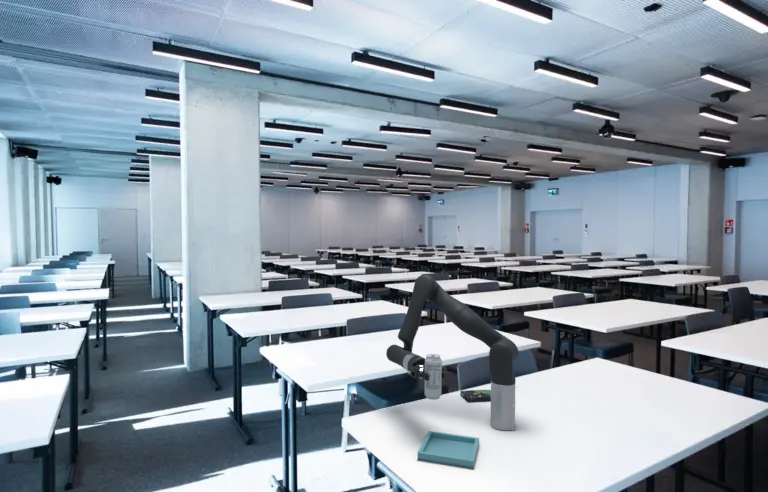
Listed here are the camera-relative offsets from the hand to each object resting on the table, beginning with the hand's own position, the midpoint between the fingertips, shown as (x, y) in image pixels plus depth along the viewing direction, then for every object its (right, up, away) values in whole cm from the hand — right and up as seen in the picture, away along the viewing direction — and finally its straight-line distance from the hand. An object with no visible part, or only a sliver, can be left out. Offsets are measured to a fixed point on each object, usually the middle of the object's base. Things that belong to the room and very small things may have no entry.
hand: (436, 376), depth 159 cm
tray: (+4, -24, -6) cm, 25 cm away
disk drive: (+25, -25, +48) cm, 60 cm away
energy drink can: (-1, -8, +2) cm, 9 cm away
